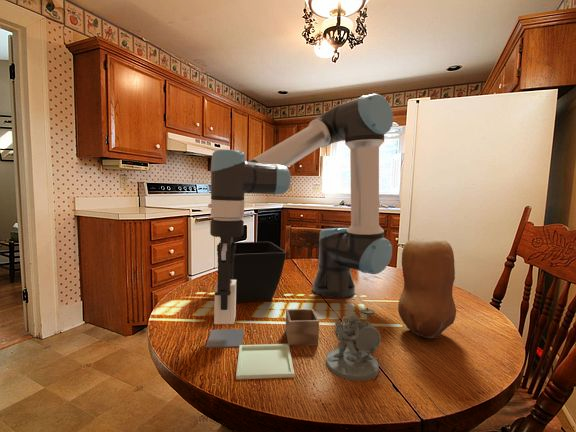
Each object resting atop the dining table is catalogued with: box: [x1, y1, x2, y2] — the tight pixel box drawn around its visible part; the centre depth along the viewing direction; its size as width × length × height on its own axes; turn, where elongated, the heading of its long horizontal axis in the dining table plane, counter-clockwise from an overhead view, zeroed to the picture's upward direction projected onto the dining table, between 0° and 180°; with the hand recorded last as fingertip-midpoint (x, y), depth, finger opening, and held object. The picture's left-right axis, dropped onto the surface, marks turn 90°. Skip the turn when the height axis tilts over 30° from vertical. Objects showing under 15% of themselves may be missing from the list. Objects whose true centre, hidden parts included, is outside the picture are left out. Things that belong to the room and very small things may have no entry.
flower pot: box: [233, 241, 287, 304], centre depth 99 cm, size 19×19×17 cm
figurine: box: [325, 307, 382, 382], centre depth 60 cm, size 11×11×12 cm
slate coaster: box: [205, 328, 245, 349], centre depth 70 cm, size 8×8×1 cm
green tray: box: [235, 343, 295, 380], centre depth 61 cm, size 11×11×1 cm
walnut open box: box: [284, 308, 320, 347], centre depth 71 cm, size 7×7×6 cm
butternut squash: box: [397, 238, 457, 339], centre depth 74 cm, size 14×13×25 cm
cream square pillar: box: [213, 279, 237, 325], centre depth 69 cm, size 5×5×9 cm
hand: (225, 316), depth 69 cm, fingers closed on cream square pillar, 5 cm apart
